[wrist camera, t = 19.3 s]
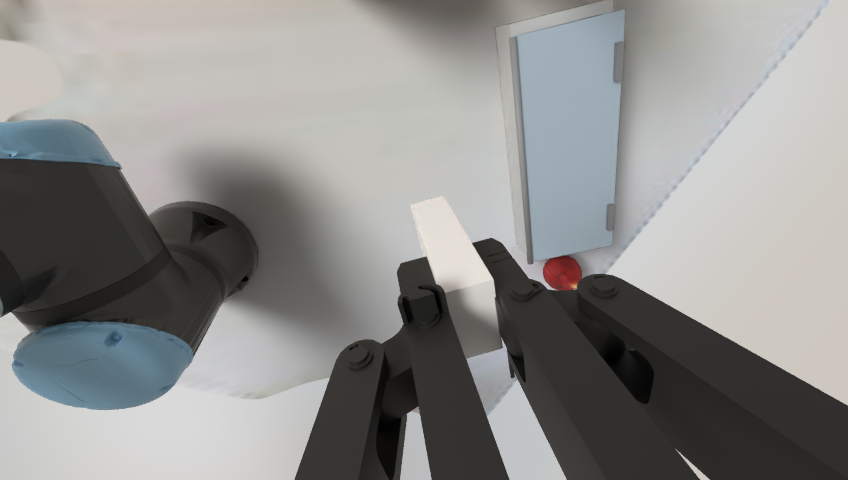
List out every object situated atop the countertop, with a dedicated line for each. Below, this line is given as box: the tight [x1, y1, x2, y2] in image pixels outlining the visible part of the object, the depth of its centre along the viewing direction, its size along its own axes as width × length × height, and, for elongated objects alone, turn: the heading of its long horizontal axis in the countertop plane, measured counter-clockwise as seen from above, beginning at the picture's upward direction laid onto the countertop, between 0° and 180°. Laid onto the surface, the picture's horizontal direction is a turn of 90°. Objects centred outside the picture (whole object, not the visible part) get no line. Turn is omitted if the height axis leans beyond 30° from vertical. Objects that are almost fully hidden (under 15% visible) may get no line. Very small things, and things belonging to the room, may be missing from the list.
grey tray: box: [495, 0, 614, 255], centre depth 48 cm, size 12×31×5 cm, turn 12°
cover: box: [509, 9, 625, 264], centre depth 45 cm, size 1×30×13 cm
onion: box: [543, 255, 582, 291], centre depth 57 cm, size 6×6×8 cm
